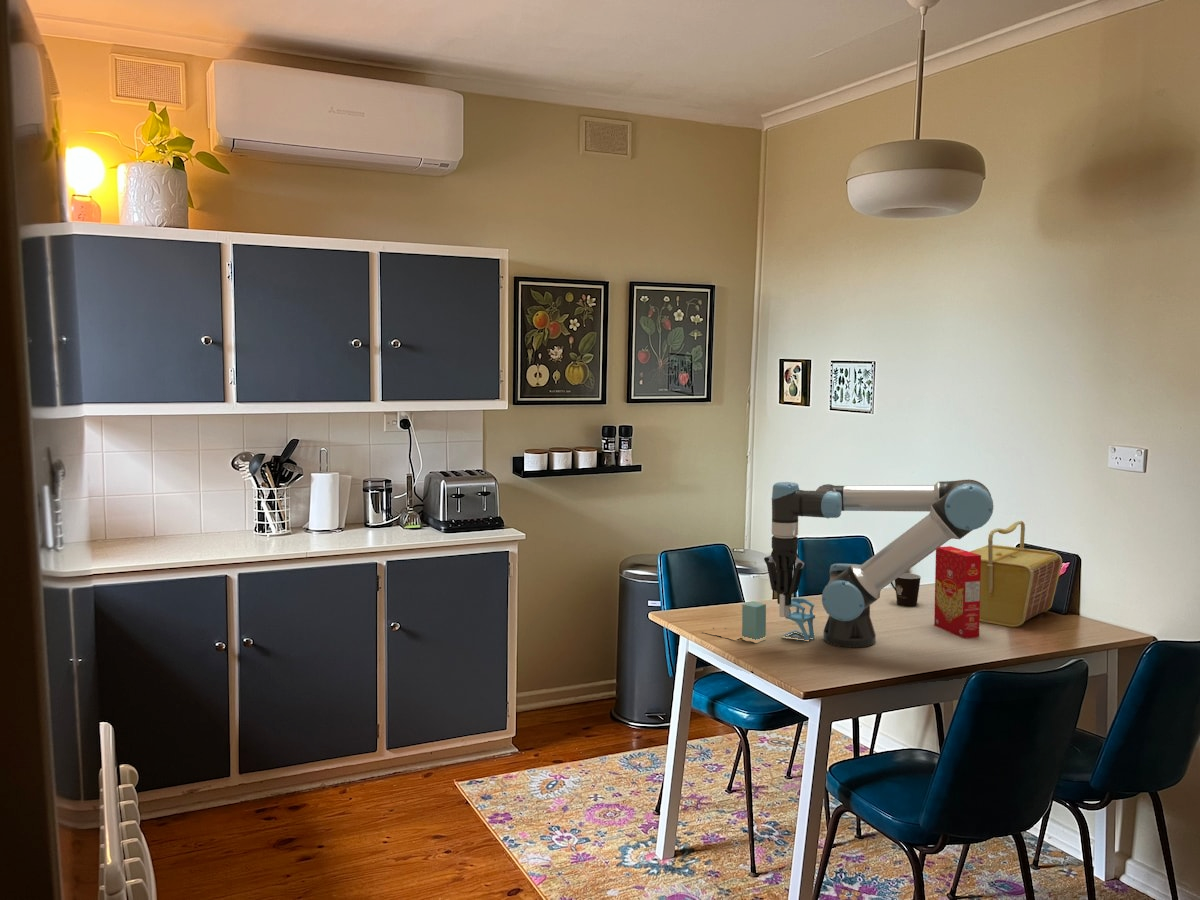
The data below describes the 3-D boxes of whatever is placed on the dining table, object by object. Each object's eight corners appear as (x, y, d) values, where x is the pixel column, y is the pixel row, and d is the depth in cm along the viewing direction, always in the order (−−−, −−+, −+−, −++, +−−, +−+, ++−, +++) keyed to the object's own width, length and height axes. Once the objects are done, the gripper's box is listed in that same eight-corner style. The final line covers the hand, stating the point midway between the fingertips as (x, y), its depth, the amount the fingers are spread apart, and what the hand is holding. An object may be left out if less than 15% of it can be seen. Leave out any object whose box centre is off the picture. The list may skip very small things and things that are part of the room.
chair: (805, 644, 271) (805, 604, 270) (781, 638, 276) (781, 599, 275) (818, 638, 276) (819, 599, 275) (794, 633, 282) (795, 594, 281)
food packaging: (934, 625, 289) (935, 547, 286) (948, 624, 290) (950, 546, 288) (963, 638, 274) (965, 556, 272) (979, 637, 276) (981, 555, 274)
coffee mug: (923, 607, 310) (924, 578, 309) (898, 607, 310) (898, 578, 309) (912, 599, 322) (912, 571, 321) (887, 599, 322) (888, 571, 321)
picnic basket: (982, 600, 318) (985, 515, 316) (1062, 613, 301) (1065, 523, 298) (947, 617, 298) (949, 526, 295) (1030, 632, 280) (1032, 535, 277)
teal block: (765, 640, 275) (765, 604, 274) (756, 643, 271) (756, 607, 270) (752, 636, 278) (752, 601, 277) (742, 640, 275) (742, 604, 274)
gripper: (811, 536, 263) (810, 617, 265) (773, 531, 272) (772, 609, 274) (797, 540, 257) (796, 622, 259) (758, 534, 266) (758, 614, 269)
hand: (784, 615), depth 267 cm, fingers closed
